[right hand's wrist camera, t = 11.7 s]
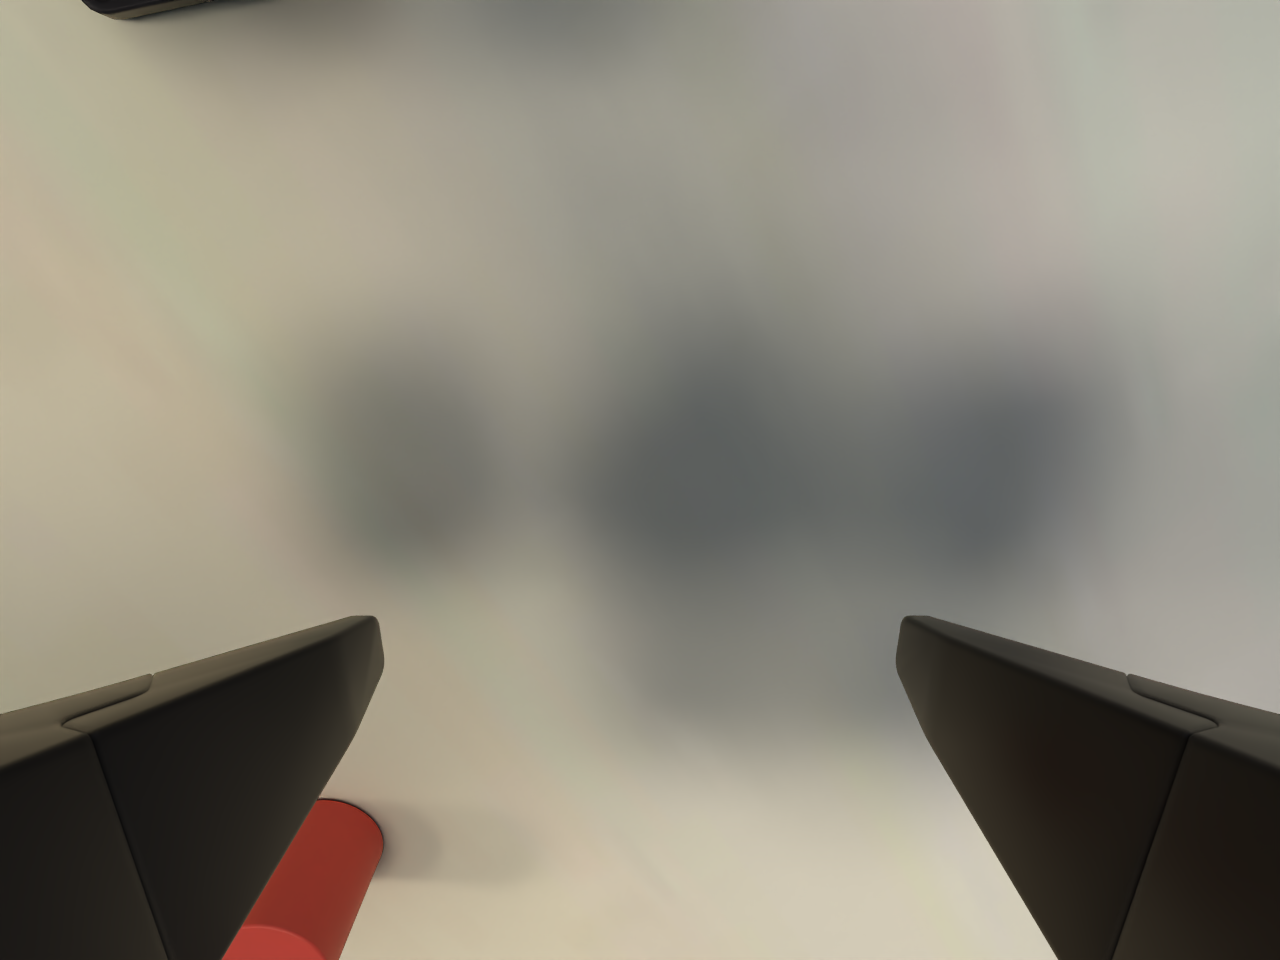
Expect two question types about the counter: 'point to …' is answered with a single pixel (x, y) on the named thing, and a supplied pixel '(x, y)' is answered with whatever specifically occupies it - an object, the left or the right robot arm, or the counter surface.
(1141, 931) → the right robot arm
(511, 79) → the counter surface
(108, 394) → the counter surface
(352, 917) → the can
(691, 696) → the counter surface
